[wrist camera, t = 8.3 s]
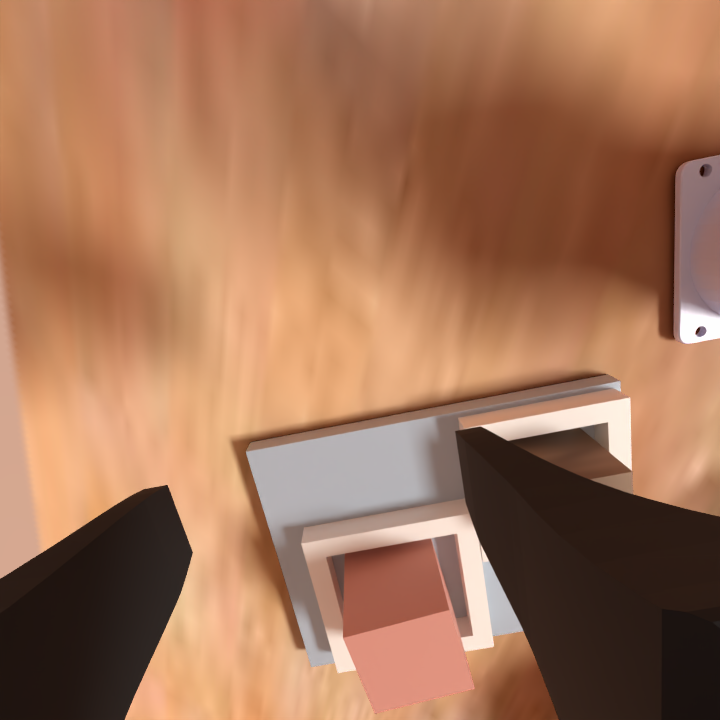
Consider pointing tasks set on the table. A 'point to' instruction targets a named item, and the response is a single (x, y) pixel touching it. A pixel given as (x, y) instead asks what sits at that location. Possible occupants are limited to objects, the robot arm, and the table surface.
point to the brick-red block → (402, 626)
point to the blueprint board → (408, 500)
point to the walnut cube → (579, 457)
